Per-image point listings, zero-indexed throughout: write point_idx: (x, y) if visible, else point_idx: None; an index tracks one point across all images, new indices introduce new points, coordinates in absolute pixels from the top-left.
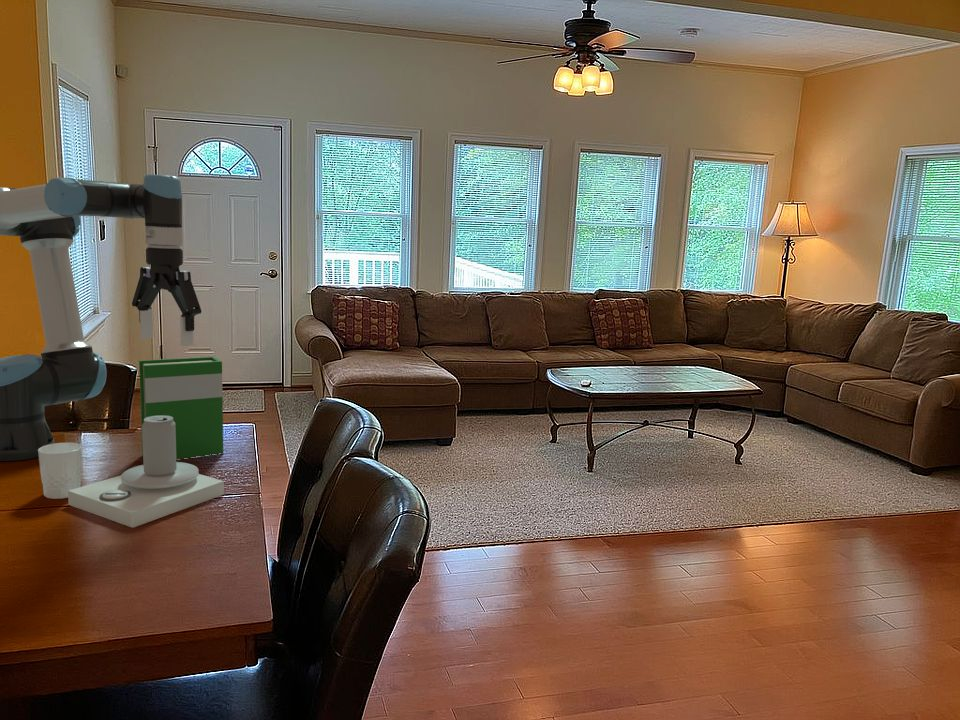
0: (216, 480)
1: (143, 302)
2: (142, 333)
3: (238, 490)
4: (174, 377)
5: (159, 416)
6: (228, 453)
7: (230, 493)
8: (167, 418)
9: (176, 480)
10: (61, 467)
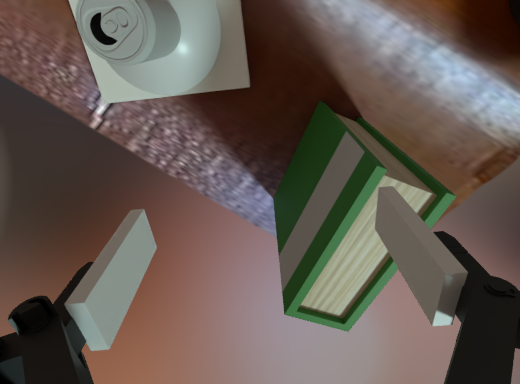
0: (113, 97)
1: (467, 327)
2: (390, 199)
3: (118, 123)
4: (328, 211)
5: (133, 41)
6: (272, 205)
7: (113, 108)
8: (106, 46)
9: None
10: None
